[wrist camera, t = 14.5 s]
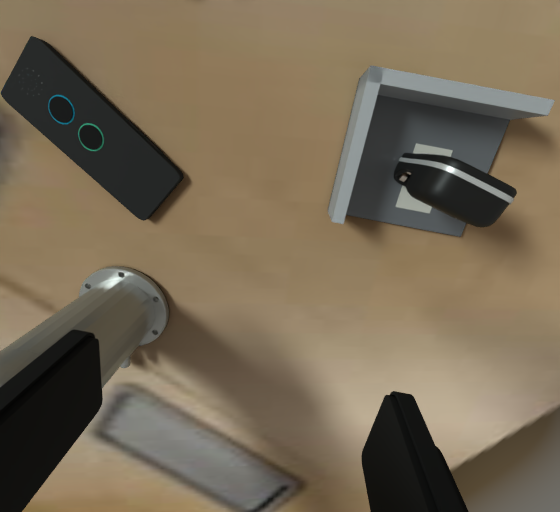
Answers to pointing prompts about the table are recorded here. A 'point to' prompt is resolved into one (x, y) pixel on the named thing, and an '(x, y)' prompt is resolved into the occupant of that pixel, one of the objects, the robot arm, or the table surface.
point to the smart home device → (89, 129)
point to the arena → (417, 141)
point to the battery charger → (454, 187)
